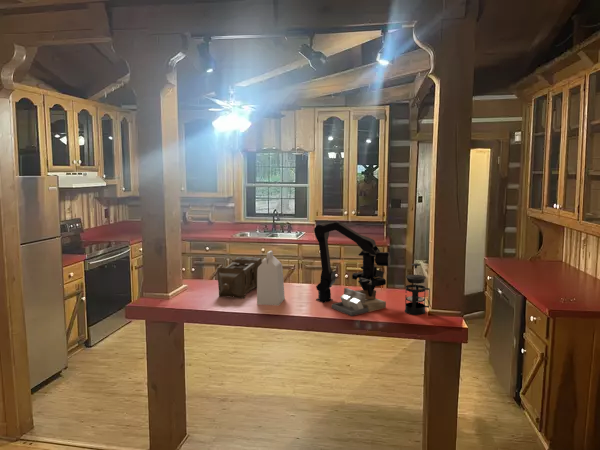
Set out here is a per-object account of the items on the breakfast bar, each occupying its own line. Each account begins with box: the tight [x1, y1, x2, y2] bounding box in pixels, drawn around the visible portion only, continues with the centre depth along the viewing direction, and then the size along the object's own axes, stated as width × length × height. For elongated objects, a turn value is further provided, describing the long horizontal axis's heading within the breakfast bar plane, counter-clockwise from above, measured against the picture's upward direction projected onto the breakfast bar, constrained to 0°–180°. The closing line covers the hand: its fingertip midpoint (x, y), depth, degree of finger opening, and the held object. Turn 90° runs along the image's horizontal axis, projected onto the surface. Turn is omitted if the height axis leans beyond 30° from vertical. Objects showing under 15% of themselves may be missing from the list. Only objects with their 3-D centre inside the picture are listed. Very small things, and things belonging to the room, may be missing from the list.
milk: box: [256, 250, 286, 306], centre depth 233 cm, size 12×12×26 cm
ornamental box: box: [216, 256, 263, 299], centre depth 249 cm, size 35×18×18 cm, turn 164°
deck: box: [362, 298, 387, 313], centre depth 224 cm, size 15×11×3 cm
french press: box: [404, 263, 431, 316], centre depth 212 cm, size 12×9×23 cm
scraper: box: [343, 287, 377, 303], centre depth 222 cm, size 14×14×4 cm
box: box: [331, 301, 369, 317], centre depth 218 cm, size 15×10×2 cm
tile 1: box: [339, 293, 352, 308], centre depth 222 cm, size 5×5×2 cm
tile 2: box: [350, 298, 363, 310], centre depth 215 cm, size 5×5×2 cm
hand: (368, 295), depth 224 cm, fingers closed on scraper, 2 cm apart
